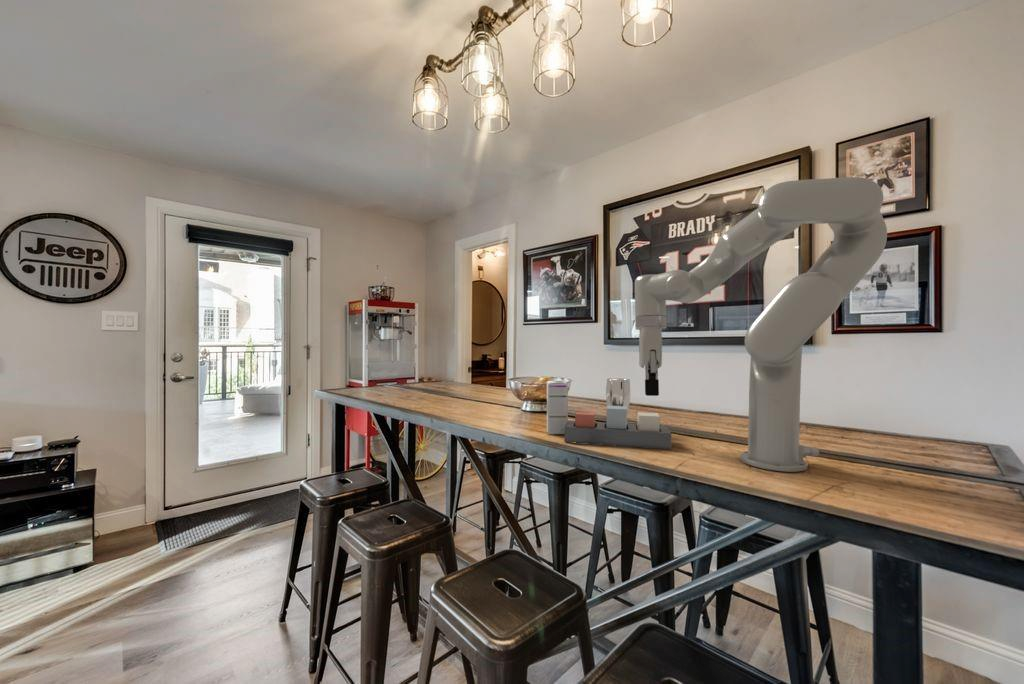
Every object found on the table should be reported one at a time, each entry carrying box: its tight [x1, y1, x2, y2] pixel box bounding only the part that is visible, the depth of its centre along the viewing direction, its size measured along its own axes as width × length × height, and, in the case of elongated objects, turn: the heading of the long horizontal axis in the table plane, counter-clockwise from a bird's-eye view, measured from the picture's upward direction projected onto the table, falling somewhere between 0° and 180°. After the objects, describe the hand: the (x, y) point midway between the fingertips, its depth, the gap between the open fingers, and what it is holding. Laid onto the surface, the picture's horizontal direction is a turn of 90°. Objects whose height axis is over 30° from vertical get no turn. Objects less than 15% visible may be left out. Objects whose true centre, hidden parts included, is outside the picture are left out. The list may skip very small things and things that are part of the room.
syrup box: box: [546, 380, 569, 435], centre depth 122 cm, size 6×6×14 cm
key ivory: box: [637, 411, 661, 432], centre depth 110 cm, size 5×5×5 cm
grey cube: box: [605, 405, 628, 429], centre depth 112 cm, size 5×5×5 cm
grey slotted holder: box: [563, 420, 672, 451], centre depth 112 cm, size 9×26×4 cm, turn 77°
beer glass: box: [605, 377, 631, 415], centre depth 126 cm, size 7×7×15 cm
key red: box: [574, 410, 596, 428], centre depth 113 cm, size 5×5×5 cm
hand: (651, 395), depth 109 cm, fingers closed
